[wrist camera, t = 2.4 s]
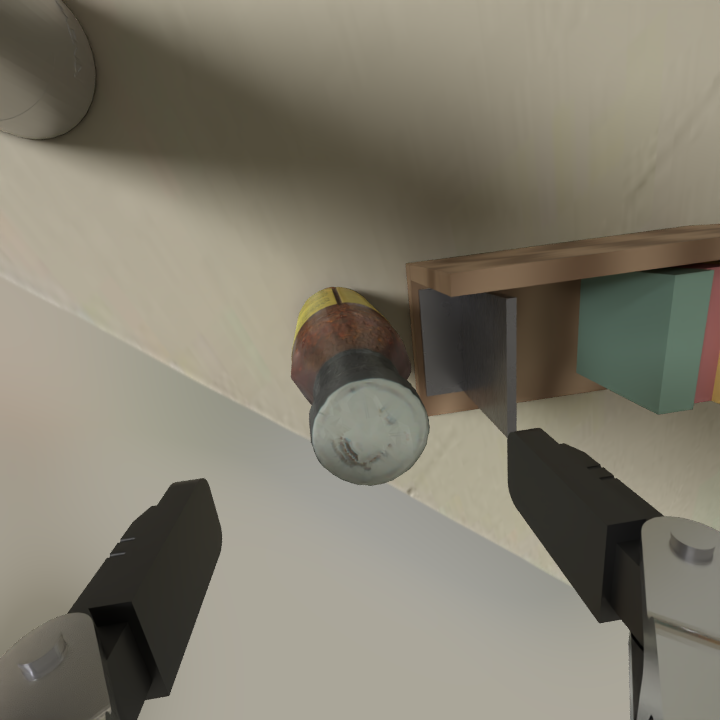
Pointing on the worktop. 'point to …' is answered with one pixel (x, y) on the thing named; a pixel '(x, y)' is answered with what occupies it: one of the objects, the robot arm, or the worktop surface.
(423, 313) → the bookend
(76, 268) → the worktop surface
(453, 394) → the shelf
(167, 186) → the worktop surface
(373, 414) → the sauce bottle
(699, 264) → the book row
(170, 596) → the robot arm
